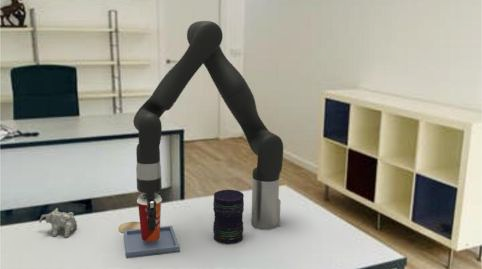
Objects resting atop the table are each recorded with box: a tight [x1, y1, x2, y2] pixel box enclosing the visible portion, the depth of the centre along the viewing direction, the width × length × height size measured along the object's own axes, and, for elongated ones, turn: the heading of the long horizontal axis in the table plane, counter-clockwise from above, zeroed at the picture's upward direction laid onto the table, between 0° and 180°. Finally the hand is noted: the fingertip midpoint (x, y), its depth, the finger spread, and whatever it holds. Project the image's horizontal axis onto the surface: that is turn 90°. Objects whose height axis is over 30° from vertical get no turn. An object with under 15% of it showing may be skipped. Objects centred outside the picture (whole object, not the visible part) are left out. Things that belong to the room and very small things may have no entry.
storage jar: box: [212, 189, 245, 245], centre depth 156 cm, size 10×10×15 cm
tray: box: [123, 225, 181, 259], centre depth 152 cm, size 16×16×2 cm
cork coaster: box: [117, 221, 141, 234], centre depth 163 cm, size 9×9×1 cm
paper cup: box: [136, 192, 163, 242], centre depth 150 cm, size 8×8×14 cm
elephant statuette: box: [38, 207, 78, 238], centre depth 158 cm, size 9×12×8 cm
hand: (150, 225), depth 151 cm, fingers closed on paper cup, 6 cm apart
